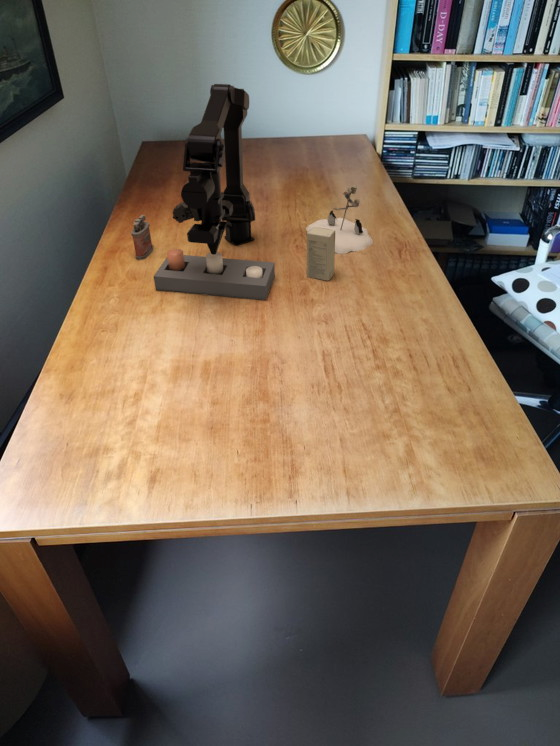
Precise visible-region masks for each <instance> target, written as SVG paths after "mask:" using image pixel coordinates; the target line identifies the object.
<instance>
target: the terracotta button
mask: <svg viewBox="0 0 560 746" xmlns="http://www.w3.org/2000/svg"><path fill="white" fill-rule="evenodd" d="M184 255H185V254H184V251H183V250H182V249H180V248H172V249H169V250H168V251H167V252H166V256H167V257H166V258H168V265H169V269H170V270H172V271H179V270H182V269H184V268H185V263H184Z"/></svg>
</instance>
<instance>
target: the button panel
mask: <svg viewBox="0 0 560 746" xmlns="http://www.w3.org/2000/svg"><path fill="white" fill-rule="evenodd" d="M183 255H184V263H185V268H184V269H182V270H179V271H172V270H170V269H169V265H168V258H167V257H165V259H164V260H163V261H162V263H161V265H160V266H159V267H158V269H157V270H156V272H155V273H154V275H153V282H154V288H155V291H159V292H170V293H180V294H181V293H182V294H189V295H200V296H201V295H202V296H211V297H212V296H213V297H225V298H234V299H235V298H236V299H244V300H245V299H246V300H256V301H267V298H268V296H269V293H270V290H271V288H272V285H273V283H274V280H275V275H276V274H275V273H276V270H275V269H276V264H275V262H274V261H261V260H249V259H248V260H247V259H237V258H227V257H222V260H223V272H221V273H219V274H210V273H208V272H207V263H206V256H201V255H190V254H189V255H188V254H183ZM251 266H258V267H261V268H262V276H263V278H253V277H246V269H247V268H248V267H251Z"/></svg>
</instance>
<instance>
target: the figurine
mask: <svg viewBox="0 0 560 746" xmlns="http://www.w3.org/2000/svg"><path fill="white" fill-rule="evenodd" d="M357 188H358V187H357V185H354V184H353V185H352V186H351V187H348V188H347V190H346V191H345V192H343V193H342V194H343V196H344V198H345V199H346V200H347V203H346V205H345V207H337V206H334V207H333V208H332V209H333V210H330V211H329V213H328V217H327V218H323V219H318V220H315V221H314V222H312V223H310V224H309V225H308V226H306V228H305V230H306V232H308V231H309V230H310V229H311V228H312V227H319V228H325V229H331V230H335V254H338V255H344V254H345V255H347V253H350V252H355V251H358V252H360V251H359V250H361V251H364V250H365V249H367V248H368V247H371V246H372V245H371V244H373V243H374V240H373V239H372V237H371V235H369V233H368V229H367V228H365V227H363V225H362V222H361V221H360V219H357V218H354V219H355V222H352V221H350V220H348V219H346V218H345V217H346V213H347V210H348V209H349V208H358V207H359V206H360V199H359V198H355V199H354V200H352V199H351V194H352V195H355V194H356V191H357V190H358V189H357ZM349 204H350V205H349ZM341 210H342V211H344V214H343V217H337V216H336V214H335V213H334V211H341ZM367 246H368V247H367ZM355 253H356V252H355Z"/></svg>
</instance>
